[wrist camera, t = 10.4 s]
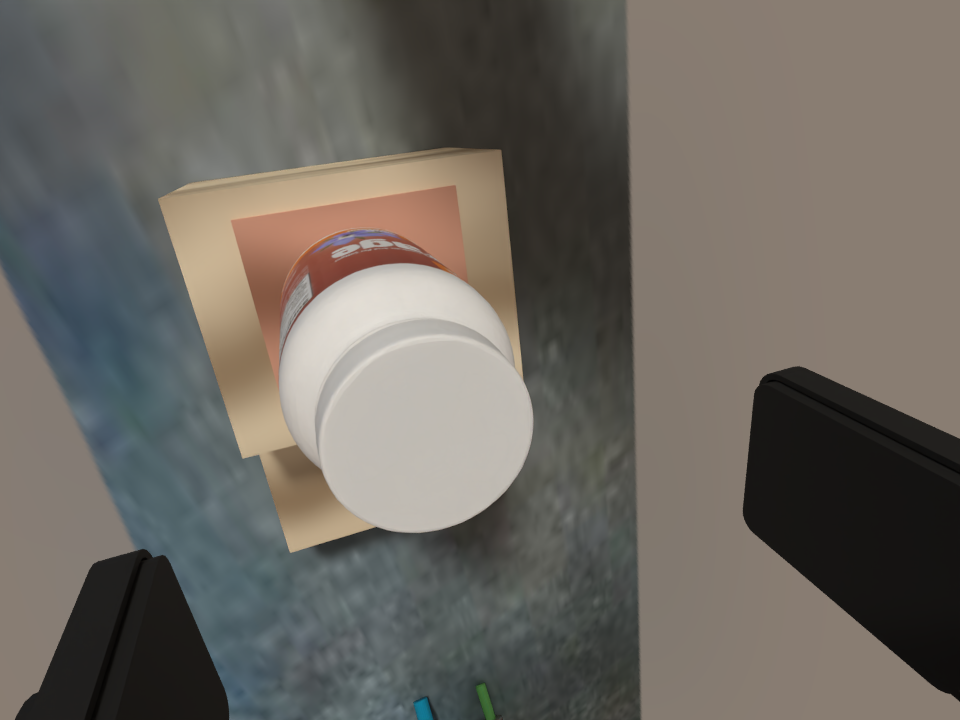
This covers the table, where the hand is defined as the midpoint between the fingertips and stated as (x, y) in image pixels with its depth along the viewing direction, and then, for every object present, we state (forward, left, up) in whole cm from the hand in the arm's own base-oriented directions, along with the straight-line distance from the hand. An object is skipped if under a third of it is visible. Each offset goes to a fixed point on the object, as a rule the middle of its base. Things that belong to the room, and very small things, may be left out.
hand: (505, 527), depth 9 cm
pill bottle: (0, 0, -15) cm, 15 cm away
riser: (+3, +3, -23) cm, 23 cm away
